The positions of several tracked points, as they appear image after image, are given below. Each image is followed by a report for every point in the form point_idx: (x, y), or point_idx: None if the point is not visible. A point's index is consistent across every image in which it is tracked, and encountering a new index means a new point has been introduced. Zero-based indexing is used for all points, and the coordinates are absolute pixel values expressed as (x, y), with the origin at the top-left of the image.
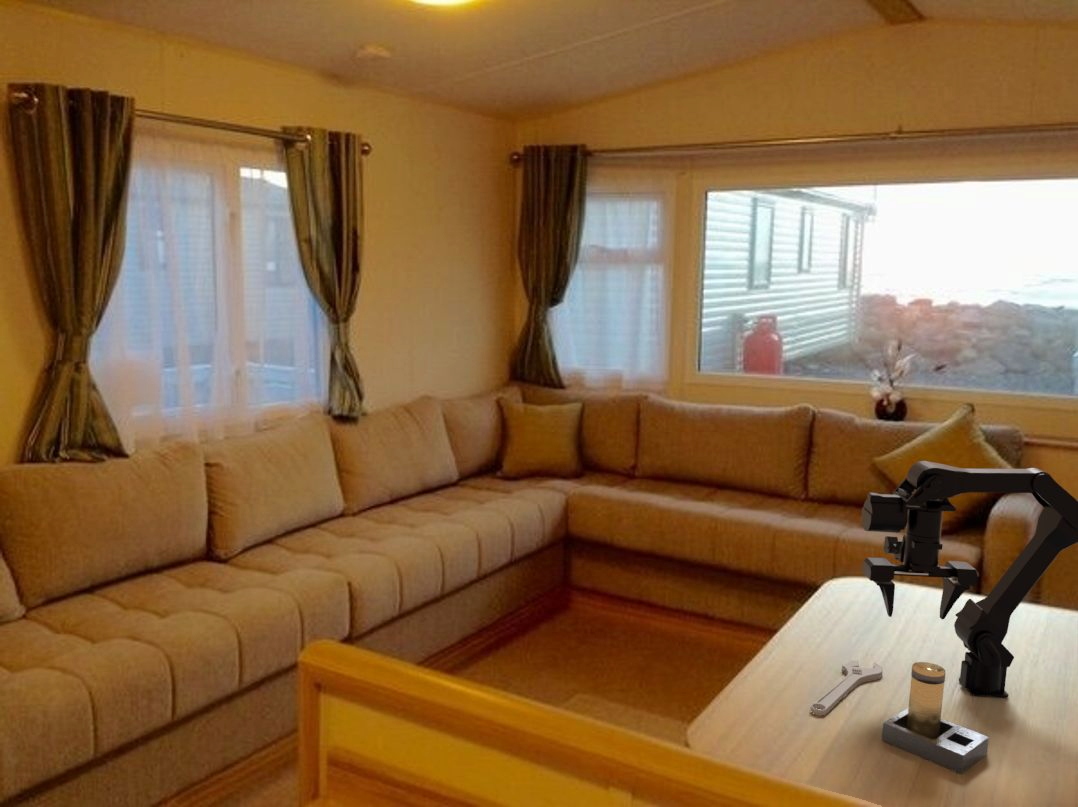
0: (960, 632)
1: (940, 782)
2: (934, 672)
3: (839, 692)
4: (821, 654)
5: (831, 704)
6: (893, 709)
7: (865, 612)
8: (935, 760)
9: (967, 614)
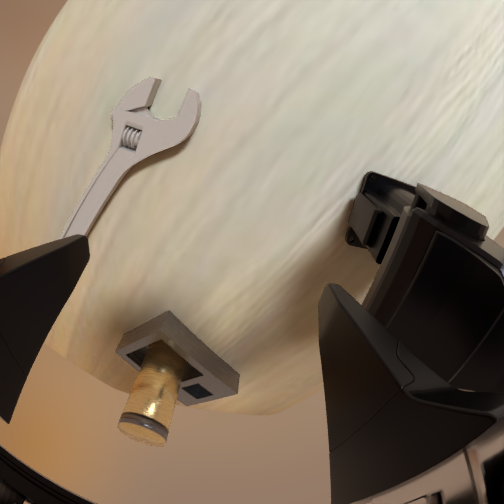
0: (387, 268)
1: None
2: (146, 441)
3: (82, 224)
4: (113, 30)
5: None
6: (160, 269)
7: None
8: None
9: (439, 306)
